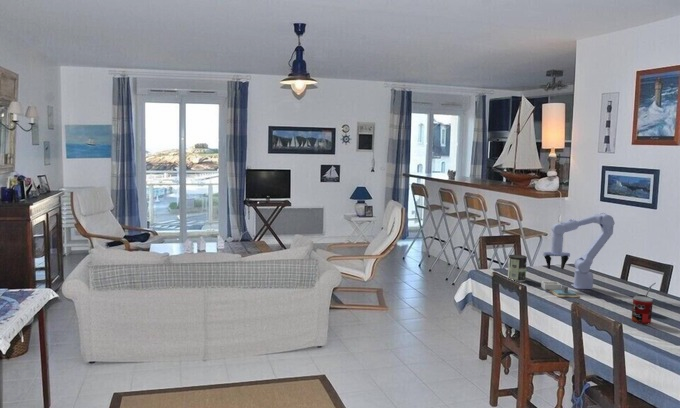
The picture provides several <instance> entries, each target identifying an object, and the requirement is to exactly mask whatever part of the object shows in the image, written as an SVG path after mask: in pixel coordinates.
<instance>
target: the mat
mask: <svg viewBox="0 0 680 408" xmlns="http://www.w3.org/2000/svg"><path fill="white" fill-rule="evenodd" d="M549 293H551V294H553V295H554V296H555V297H556V296H557V297H556V298H565V299H566V298H568V299H569V298H572V299H580V298H581V296H580V295H578V294H577V293H576V295H557V294H556V293H555V292H554V291H553V290H549Z"/></svg>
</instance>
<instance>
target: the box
mask: <svg viewBox="0 0 680 408" xmlns="http://www.w3.org/2000/svg"><path fill="white" fill-rule="evenodd" d="M547 283H548V284H547ZM540 286H541V288H542V289H543V290H545V291H546V290H562V284H561V283H560V282H558V281H543V280H542V281H541V283H540Z"/></svg>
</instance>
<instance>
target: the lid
mask: <svg viewBox="0 0 680 408" xmlns="http://www.w3.org/2000/svg"><path fill="white" fill-rule="evenodd" d="M553 291H554V292H555V293H556V294H557V295H576V294H577V293H576V292H574V291H573V290H569V287H568V286H567V285H565V284H564V285H562V284H561V290H553Z"/></svg>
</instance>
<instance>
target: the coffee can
mask: <svg viewBox="0 0 680 408" xmlns="http://www.w3.org/2000/svg"><path fill="white" fill-rule="evenodd" d="M527 260H528V256H526V255H525V254H524V255H523V254H509V255H508V267H507V269H508V271H507V279H508V278H510V279H513V280H515V281H514V282H519V283H520V282H521V283H523V282H526V277H527V275H526V273H527Z"/></svg>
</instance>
